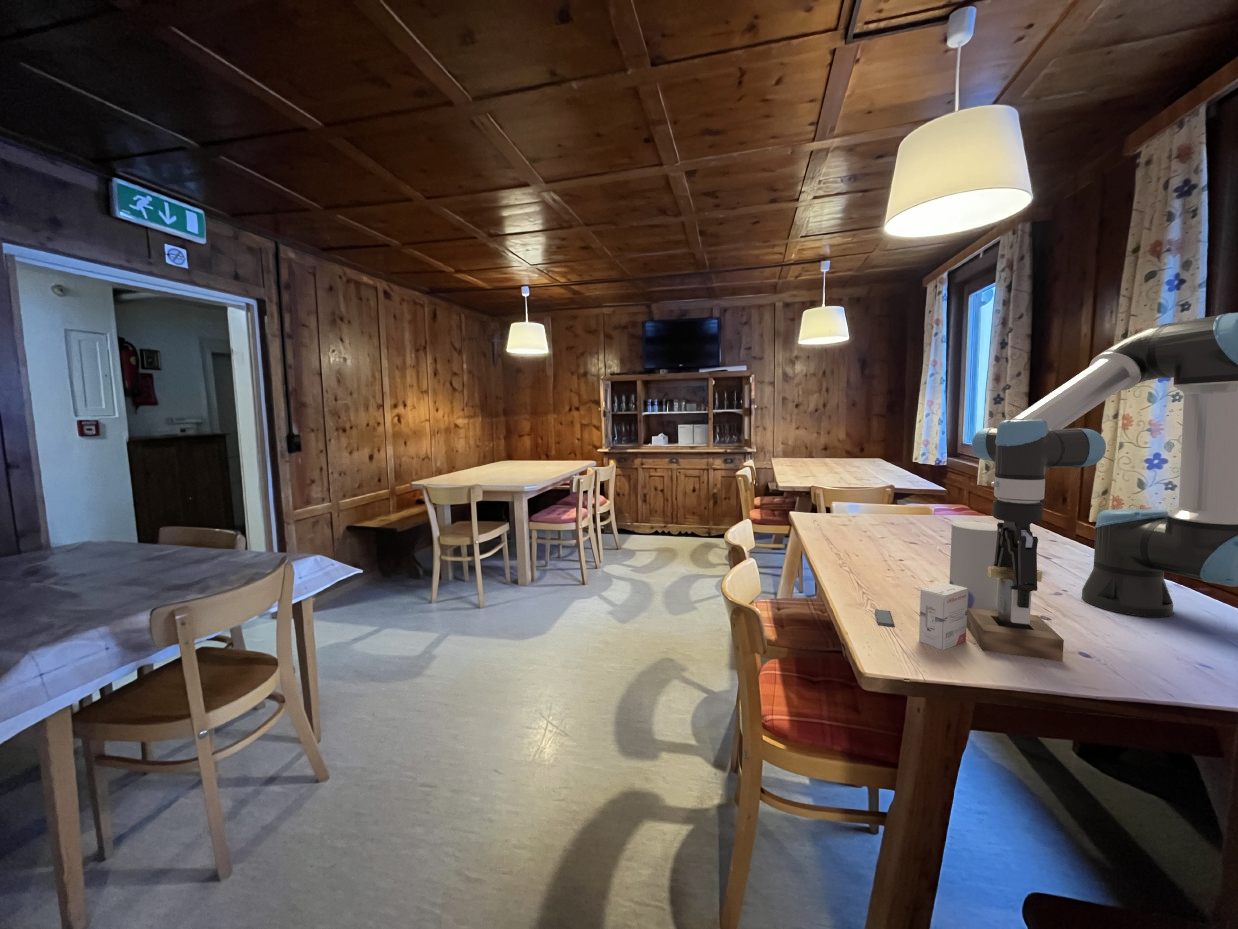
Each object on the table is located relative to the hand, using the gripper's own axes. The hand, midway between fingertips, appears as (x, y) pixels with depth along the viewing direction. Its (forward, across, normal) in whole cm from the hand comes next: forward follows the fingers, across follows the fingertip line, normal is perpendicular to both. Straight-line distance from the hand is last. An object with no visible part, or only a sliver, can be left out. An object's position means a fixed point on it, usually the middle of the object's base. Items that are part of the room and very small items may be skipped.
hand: (1012, 614), depth 97 cm
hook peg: (+6, 0, 0) cm, 6 cm away
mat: (+7, -7, -19) cm, 21 cm away
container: (+7, -22, -1) cm, 23 cm away
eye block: (+7, 0, 0) cm, 7 cm away
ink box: (+7, +4, -12) cm, 14 cm away
